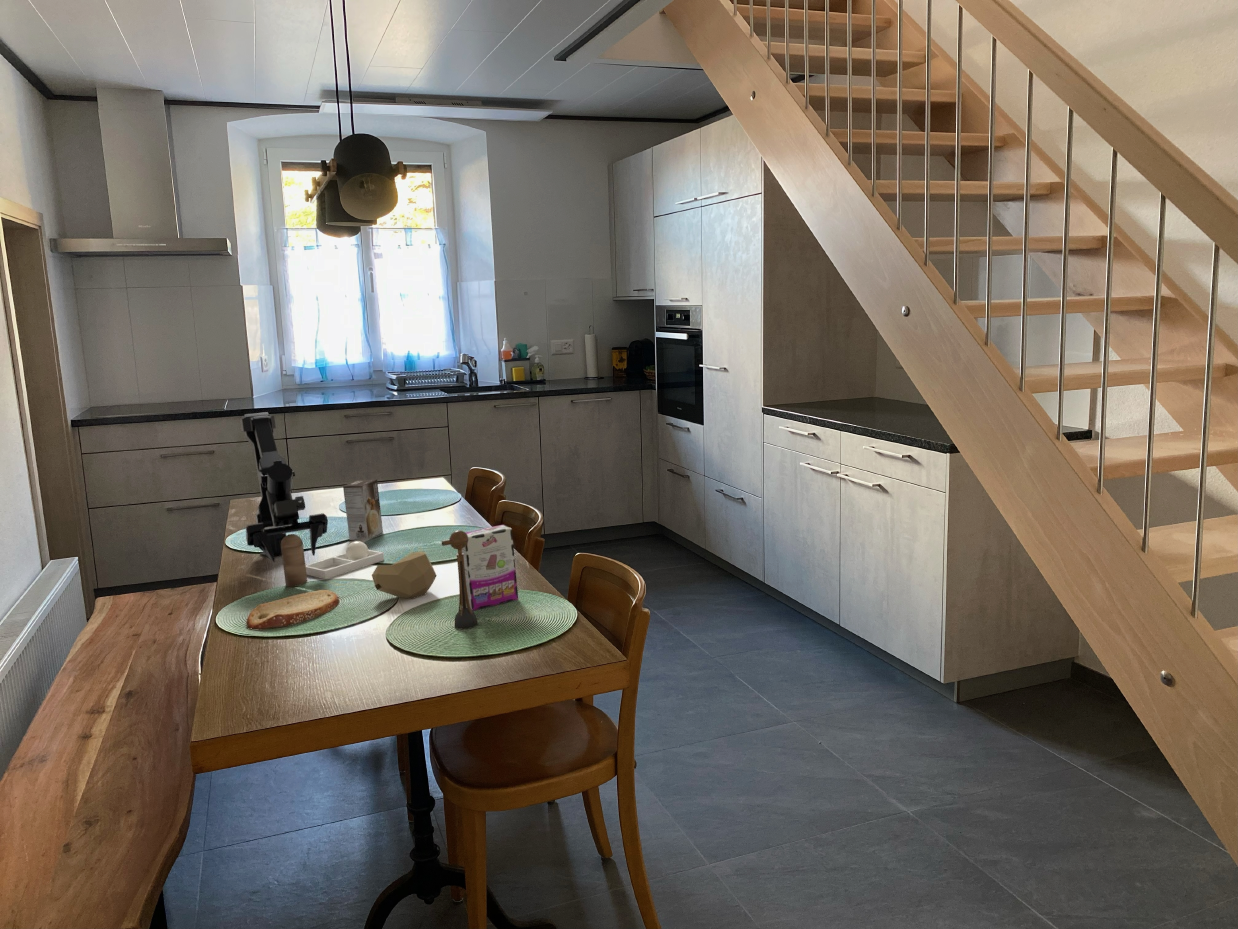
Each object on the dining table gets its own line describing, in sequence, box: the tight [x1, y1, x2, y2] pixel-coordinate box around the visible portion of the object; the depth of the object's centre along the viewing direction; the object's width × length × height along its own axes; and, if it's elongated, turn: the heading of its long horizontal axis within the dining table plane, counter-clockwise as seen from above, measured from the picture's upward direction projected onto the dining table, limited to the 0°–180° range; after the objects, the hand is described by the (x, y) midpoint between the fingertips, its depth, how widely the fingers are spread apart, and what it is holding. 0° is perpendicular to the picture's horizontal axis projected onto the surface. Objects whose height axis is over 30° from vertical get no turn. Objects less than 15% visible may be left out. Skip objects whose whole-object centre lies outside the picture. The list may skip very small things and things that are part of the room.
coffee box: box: [342, 479, 384, 541], centre depth 260 cm, size 9×6×16 cm
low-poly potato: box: [371, 550, 437, 600], centre depth 205 cm, size 15×11×12 cm
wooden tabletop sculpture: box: [441, 529, 479, 630], centre depth 183 cm, size 6×5×20 cm
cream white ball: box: [345, 540, 369, 561], centre depth 233 cm, size 6×6×6 cm
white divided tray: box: [305, 549, 385, 580], centre depth 230 cm, size 9×18×2 cm, turn 143°
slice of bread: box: [246, 589, 340, 630], centre depth 198 cm, size 18×18×4 cm
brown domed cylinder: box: [281, 533, 308, 588], centre depth 218 cm, size 5×5×12 cm
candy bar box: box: [462, 524, 519, 611], centre depth 196 cm, size 11×5×16 cm, turn 122°
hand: (294, 558), depth 217 cm, fingers open, 9 cm apart
